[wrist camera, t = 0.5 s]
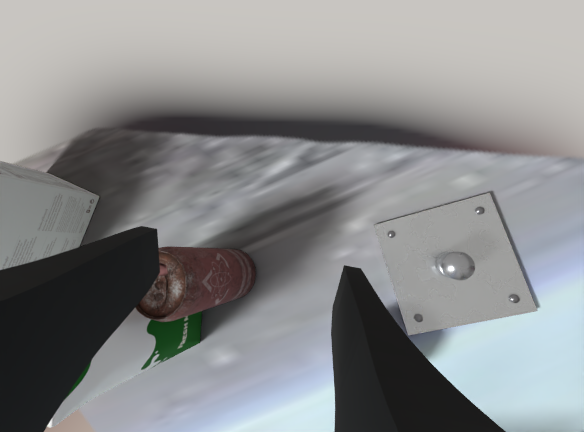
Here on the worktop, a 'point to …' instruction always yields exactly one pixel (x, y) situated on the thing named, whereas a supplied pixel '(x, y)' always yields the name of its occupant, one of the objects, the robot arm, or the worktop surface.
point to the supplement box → (40, 215)
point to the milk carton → (130, 356)
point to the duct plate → (453, 266)
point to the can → (196, 281)
